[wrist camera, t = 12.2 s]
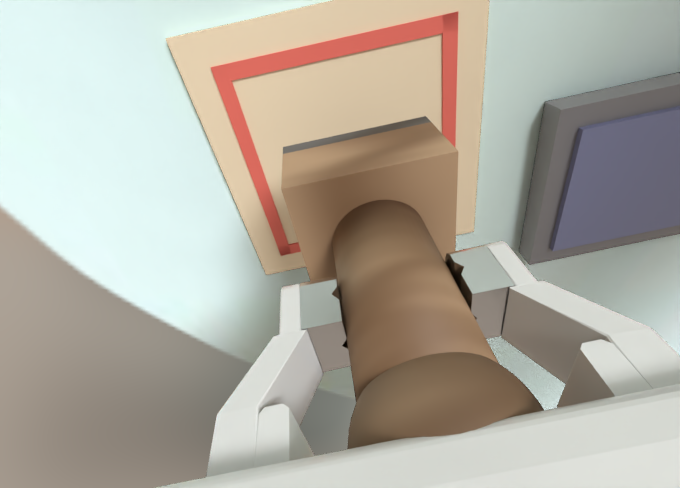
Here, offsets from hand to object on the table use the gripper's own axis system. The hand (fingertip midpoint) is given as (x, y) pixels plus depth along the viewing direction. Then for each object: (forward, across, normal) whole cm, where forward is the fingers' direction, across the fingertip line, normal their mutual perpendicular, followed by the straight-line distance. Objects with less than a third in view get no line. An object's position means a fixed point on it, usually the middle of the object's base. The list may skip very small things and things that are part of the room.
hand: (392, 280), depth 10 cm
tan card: (+9, 0, 0) cm, 9 cm away
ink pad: (+9, -15, +4) cm, 18 cm away
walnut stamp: (+5, 0, 0) cm, 5 cm away
